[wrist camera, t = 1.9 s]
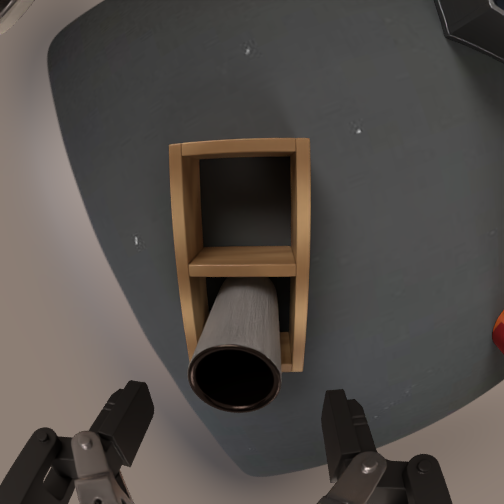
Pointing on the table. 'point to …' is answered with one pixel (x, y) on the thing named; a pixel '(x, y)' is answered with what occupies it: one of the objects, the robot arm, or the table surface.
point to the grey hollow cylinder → (239, 348)
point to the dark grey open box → (474, 24)
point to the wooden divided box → (241, 257)
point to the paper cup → (499, 332)
